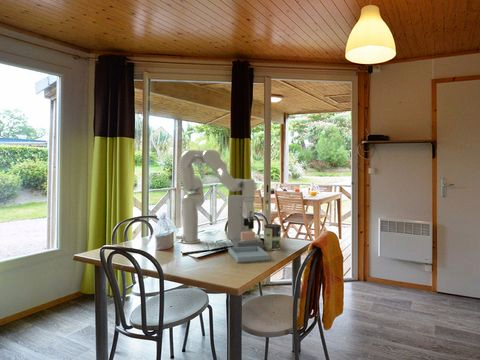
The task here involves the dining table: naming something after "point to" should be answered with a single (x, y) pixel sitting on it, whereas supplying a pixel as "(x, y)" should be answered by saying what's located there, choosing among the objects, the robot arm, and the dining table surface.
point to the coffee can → (272, 236)
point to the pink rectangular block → (248, 235)
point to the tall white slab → (235, 217)
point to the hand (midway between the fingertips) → (248, 227)
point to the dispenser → (247, 242)
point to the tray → (248, 254)
